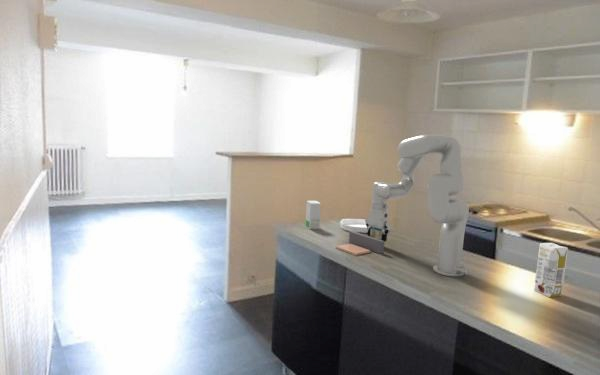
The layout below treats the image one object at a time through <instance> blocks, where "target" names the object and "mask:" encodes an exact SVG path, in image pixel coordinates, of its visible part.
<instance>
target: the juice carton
mask: <svg viewBox="0 0 600 375" xmlns="http://www.w3.org/2000/svg"><path fill="white" fill-rule="evenodd" d="M538 247H539V249H538V255H537V264H536V271H535V277H534V279H535V280H534V286H533V289H534V292H536V293H539V294H541V295H543V296H545V297H547V298H555V297H561V296H562V294H563V288H564V282H565V274H566V267H567V259H568V250H569V247H568V246H562V245H559V244H556V243H555V242H540V243H539V246H538Z"/></svg>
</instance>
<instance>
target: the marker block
mask: <svg viewBox="0 0 600 375" xmlns="http://www.w3.org/2000/svg"><path fill="white" fill-rule="evenodd" d="M384 231H385V230H384ZM382 234H383V233H382V230H381V229H377V228H371V231H370V237H373V238H376V239H379V240H381V239H382Z"/></svg>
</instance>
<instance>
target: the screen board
mask: <svg viewBox="0 0 600 375" xmlns="http://www.w3.org/2000/svg"><path fill="white" fill-rule="evenodd" d="M348 233H349V234H348V236H349V238H348V244H353V245H356V246H359V247H362V248H365V249H367V250H370V252H371V251H372V252H374V253H377V254H380V255H382V254H384V253H385V242H384V241H382V240H379V239H376V238H373V237H370V236H368V235H366V234H364V233H357V232H354V231H349V232H348Z"/></svg>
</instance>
